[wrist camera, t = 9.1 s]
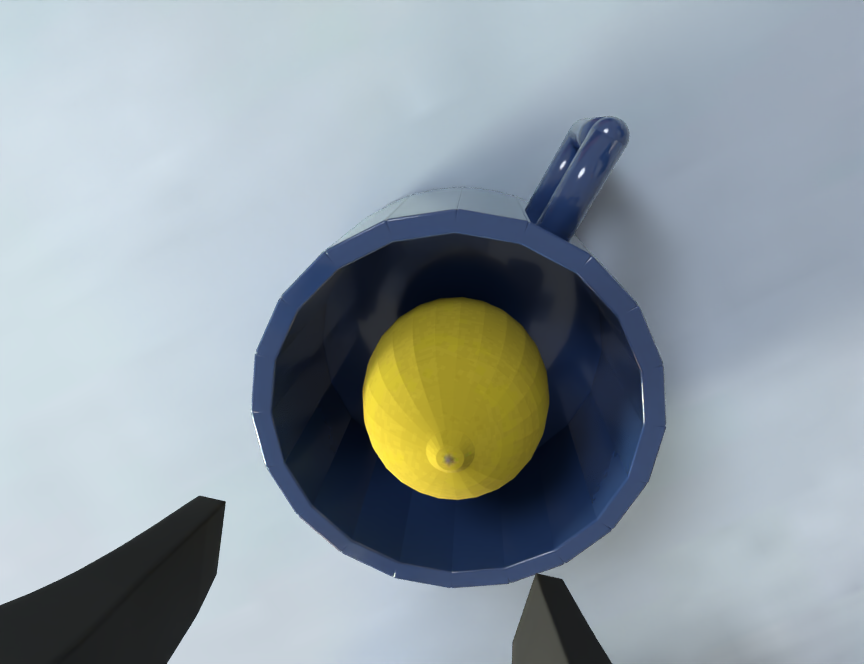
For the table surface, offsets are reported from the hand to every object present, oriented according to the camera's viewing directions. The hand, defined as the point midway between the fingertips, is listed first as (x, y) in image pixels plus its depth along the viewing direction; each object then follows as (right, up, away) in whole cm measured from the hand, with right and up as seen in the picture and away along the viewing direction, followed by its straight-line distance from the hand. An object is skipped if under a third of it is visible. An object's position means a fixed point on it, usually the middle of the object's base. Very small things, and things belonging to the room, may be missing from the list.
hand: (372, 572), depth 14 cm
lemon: (+2, +5, +9) cm, 10 cm away
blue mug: (+3, +6, +8) cm, 11 cm away
